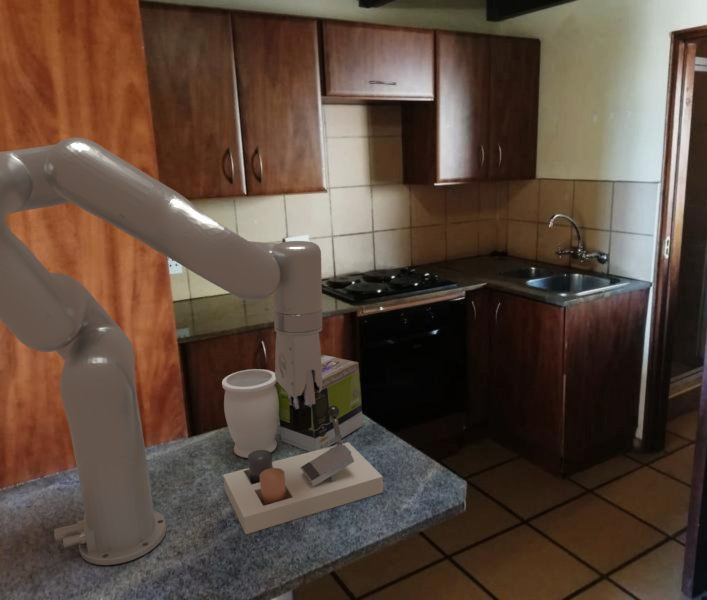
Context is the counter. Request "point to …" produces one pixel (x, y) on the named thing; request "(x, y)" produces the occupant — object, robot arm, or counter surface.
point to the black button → (259, 464)
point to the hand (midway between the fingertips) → (300, 427)
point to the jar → (251, 410)
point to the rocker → (327, 464)
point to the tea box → (326, 406)
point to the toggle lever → (335, 422)
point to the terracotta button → (272, 485)
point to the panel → (301, 490)
